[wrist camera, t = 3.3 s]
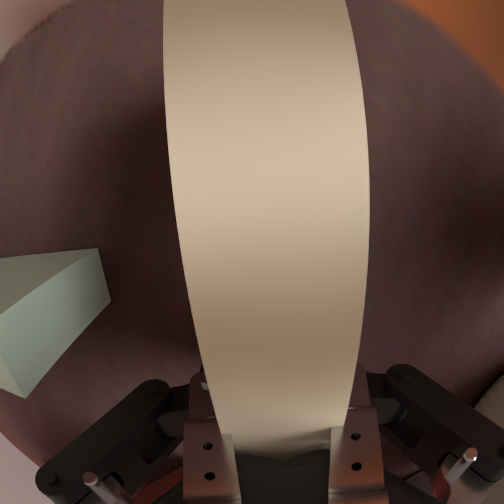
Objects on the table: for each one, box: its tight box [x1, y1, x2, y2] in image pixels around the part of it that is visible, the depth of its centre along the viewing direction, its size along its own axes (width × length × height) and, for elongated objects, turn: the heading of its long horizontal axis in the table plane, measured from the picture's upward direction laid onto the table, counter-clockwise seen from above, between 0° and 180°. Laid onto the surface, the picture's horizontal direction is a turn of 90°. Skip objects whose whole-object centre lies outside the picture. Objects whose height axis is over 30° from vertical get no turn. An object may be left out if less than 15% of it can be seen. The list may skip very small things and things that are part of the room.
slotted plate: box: [163, 0, 370, 460], centre depth 9 cm, size 14×3×8 cm, turn 5°
